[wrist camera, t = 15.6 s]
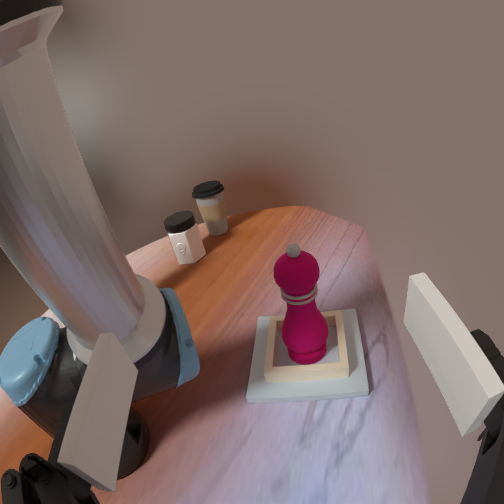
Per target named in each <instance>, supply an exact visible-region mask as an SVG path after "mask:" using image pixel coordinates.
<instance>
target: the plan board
mask: <svg viewBox="0 0 504 504" xmlns="http://www.w3.org/2000/svg"><path fill="white" fill-rule="evenodd" d="M320 313H321V314H322V315H323V316H324V318H325V320H326V322H327V325H328V330H329V334H328V338H327V340H326V348H327V349H326V353H325V355H324V357H323V358H322V359H321V360H320V361H318V362H316V363H314V364H310V365H301V364H298V363H295V362H294V361H292V360H291V358H290V357H289V354H288V349H287V346H286V345H285V344H284V342H283V340H282V324H283V321H284V318H285V316H286V315H278V316H264V317H258V323H257V330H256V337H255V343H254V350H253V356H252V363H251V369H250V376H249V382H248V389H247V395H246V399H247V402H248V403H280V402H303V401H318V400H331V399H342V398H351V397H360V396H368V393H369V388H368V380H367V373H366V367H365V360H364V354H363V348H362V342H361V336H360V330H359V325H358V319H357V314H356V309H355V308H352V309H343V310H333V311H323V312H320Z"/></svg>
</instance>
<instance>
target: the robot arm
mask: <svg viewBox="0 0 504 504" xmlns="http://www.w3.org/2000/svg"><path fill="white" fill-rule="evenodd" d="M62 12H63V7H62V2H61V0H0V247H1V248H2V249H3V251H4V252H5V254H6V255H7V256H8V258H9V259H10V260H11V262H12V263H13V264H14V266H15V267H16V268H17V270H18V271H19V272H20V273H21V275H22V276H23V277H24V279H25V280H26V281H27V282H28V283H29V285H30V286H31V287H32V288H33V290H34V291H35V292H36V293H37V294H38V296H39V297H40V298H41V299H42V300H43V301H44V303H45V304H46V305H47V306H48V307H49V308H50V309H51V311H52V312H53V313H54V314H55V315H56V316H57V317H58V318H59V319H60V321H61V322H62V323H63V324H64V325H65V326H66V327H64V328H59V325H58V323H57V322H55V321H54V320H53V319H51V318H49V317H40V318H36V319H34V320H32V321H31V322H29V323H28V324H26V325H25V326H23V327H22V328H21V329H20V330H19V331H18V332H17V333H16V334H15V335H14V336H13V337H12V338H11V340H10V341H9V342H8V344H7V345H6V347H5V349H4V350H3V352H2V354H1V357H0V385H1V387H2V389H3V390H4V391H5V392H6V393H7V395H8V396H9V397H10V398H11V399H12V402H13V403H14V404H15V405H16V406H17V407H18V408H19V409H21V410H22V411H23V412H24V413H25V414H26V415H27V416H28V417H29V418H30V419H31V420H33V421H34V422H35V423H36V424H37V425H38V426H39V427H40V428H42V429H43V430H44V431H45V432H46V433H48V434H49V435H50V436H51V437H52V438H54V441H53V444H52V447H51V451H50V454H49V458H48V461H46V460H44V459H43V458H42V457H40V456H39V455H37V454H36V453H30V454H27V455H26V456H25V457H24V458H23V459H22V461H21V463H20V467H19V472H20V473H19V472H18V471H16V470H15V469H9V470H7V471H5V473H4V474H3V476H2V478H1V491H2V502H3V504H100V503H99V501H98V500H97V498H96V496H95V494H94V493H93V492H92V491H91V490H90V489H91V485H93V486H94V487H96V488H97V489H99V490H105V491H112V492H115V487H116V481H117V480H118V479H121V478H123V477H125V476H127V475H129V474H130V473H131V472H133V471H134V470H135V469H136V468H137V467H138V466H139V465H140V463H141V462H142V460H143V459H144V457H145V455H146V452H147V449H148V445H149V431H148V427H147V424H146V422H145V421H144V419H143V418H142V416H141V415H140V414H139V413H138V412H137V411H136V410H135V409H134V408H133V407H132V406H131V403H132V402H135V401H138V400H141V399H144V398H147V397H150V396H152V395H155V394H158V393H161V392H163V391H166V390H169V389H171V388H178V387H179V386H181V385H182V384H183V383H185V382H188V381H190V380H192V379H194V378H195V377H196V376H197V375H198V374H199V371H200V361H199V357H198V353H197V349H196V346H195V343H194V341H193V340H192V335H191V331H190V328H189V325H188V322H187V319H186V316H185V314H184V311H183V308H182V306H181V303H180V301H179V299H178V297H177V295H176V293H175V291H174V290H173V289H172V288H169V287H166V288H159V289H158V288H157V287H156V285H155V284H154V283H152V282H151V281H150V280H148V279H147V278H145V277H142V276H140V275H136V274H134V272H133V270H132V268H131V266H130V264H129V262H128V260H127V258H126V256H125V254H124V252H123V250H122V248H121V246H120V244H119V242H118V240H117V238H116V236H115V234H114V232H113V230H112V227H111V225H110V223H109V221H108V219H107V217H106V214H105V212H104V210H103V208H102V205H101V203H100V201H99V199H98V196H97V194H96V192H95V189H94V187H93V184H92V182H91V180H90V177H89V175H88V172H87V170H86V167H85V165H84V162H83V160H82V157H81V155H80V152H79V149H78V147H77V144H76V141H75V139H74V136H73V133H72V130H71V127H70V125H69V122H68V119H67V116H66V113H65V110H64V107H63V104H62V101H61V98H60V94H59V91H58V88H57V85H56V81H55V78H54V74H53V71H52V67H51V63H50V60H49V56H48V52H47V48H46V40H47V37H48V35H49V33H50V32H51V30H52V28H53V26H54V25H55V23H56V21H57V20H58V18H59V17H60V15H61V13H62ZM403 323H404V324H405V326H406V328H407V330H408V331H409V333H410V335H411V337H412V339H413V340H414V342H415V344H416V346H417V347H418V349H419V351H420V353H421V355H422V357H423V359H424V360H425V362H426V364H427V366H428V368H429V370H430V372H431V374H432V376H433V378H434V380H435V381H436V383H437V385H438V387H439V389H440V391H441V393H442V395H443V397H444V400H445V402H446V404H447V406H448V408H449V410H450V412H451V414H452V416H453V418H454V421H455V422H456V425H457V427H458V429H459V431H460V434H461V436H462V437H463V436H465V435H467V434H469V433H471V432H473V431H475V430H477V429H478V428H479V427H480V426H481V425H482V423H483V422H484V423H485V425H486V428H485V430H484V431H483V432H482V433H481V435H480V436H479V438H478V441H480V440H481V439H482V438H483V439H482V442H481V446H480V449H479V453H478V456H477V460H476V463H475V466H474V469H473V472H472V475H471V477H470V480H469V483H468V486H467V489H466V491H465V494H464V496H463V499H462V501H461V504H504V357H503V356H502V355H501V354H500V352H499V350H498V348H496V347H495V344H494V343H493V341H492V340H491V339H490V337H489V336H488V335H487V334H485V333H484V332H482V331H481V330H479V329H478V330H475V331H472V332H469V331H468V329H467V328H466V327H465V325H464V324H463V322H462V321H461V320H460V318H459V317H458V315H457V314H456V313H455V312H454V310H453V309H452V307H451V306H450V305H449V304H448V302H447V301H446V299H445V298H444V297H443V296H442V294H441V293H440V292H439V290H438V289H437V288H436V286H435V285H434V284H433V283H432V281H431V280H430V279H429V278H428V276H427V275H426V274H425V273H424V272H422V273H419V274H415V275H411V276H409V283H408V291H407V299H406V307H405V313H404V320H403Z"/></svg>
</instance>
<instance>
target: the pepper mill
mask: <svg viewBox="0 0 504 504" xmlns="http://www.w3.org/2000/svg"><path fill="white" fill-rule="evenodd" d="M274 278H275V281H276V283H277V285H278V286H279V287H280V290H281V296H282V298H283V300H284V301H285V302H287V313H286V316H285V318H284V321H283V324H282V340H283V342H284V344H285V345H286V346H287V349H288V354H289V357H290V358H291V360H292V361H294V362H295V363H298V364H301V365H310V364H314V363H316V362H318V361H320V360H321V359H322V358H323V357H324V355H325V353H326V349H327V348H326V340H327V338H328V334H329V330H328V325H327V322H326V320H325V318H324V316H323V315H322V314H321V313H320V311H319V310H318V309H317V307H316V303H315V297H316V296H317V293H318V289H317V283H316V282H317V281H318V278H319V266H318V263H317V261H316V259H315V258H314V257H313V256H312V255H311V254H309V253H307V252H305V251H300V247H299V246H298V245H297V244H290V245H288V247H287V249H286V253H285V254H283V255H282V256H280V258H279V259H278V260H277V262H276V263H275V266H274Z"/></svg>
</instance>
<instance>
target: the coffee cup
mask: <svg viewBox="0 0 504 504" xmlns="http://www.w3.org/2000/svg"><path fill="white" fill-rule="evenodd" d="M223 190H224V187H223V185H222V184H220V182H219V181H208V182H205V183H201V184H199V185H197V186H196V187H194V189H193V193H192V195H193V198H195V199H196V201H197V205H198V208H199V210H200V212H201V215H202V218H203V220H204V222H205V224H206V226H207V228H208V231H209V233H210V235H212V236H218V235H222V234H224V233H226V232H227V231H228V224H227V218H226V207H225V200H224V196H223Z"/></svg>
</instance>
